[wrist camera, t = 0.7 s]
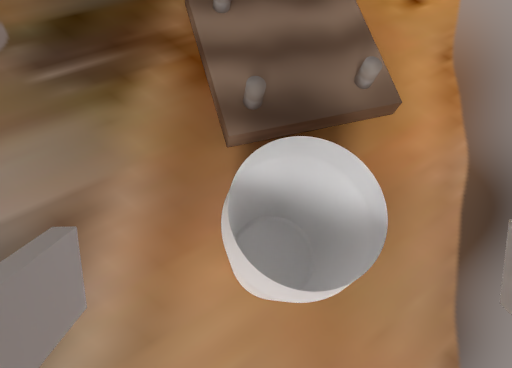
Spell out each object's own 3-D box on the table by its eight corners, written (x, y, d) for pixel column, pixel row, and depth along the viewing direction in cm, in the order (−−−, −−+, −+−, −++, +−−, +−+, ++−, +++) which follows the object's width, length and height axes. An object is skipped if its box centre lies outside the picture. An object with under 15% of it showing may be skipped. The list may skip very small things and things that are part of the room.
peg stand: (185, 3, 42) (183, -36, 38) (335, -16, 46) (349, -53, 42) (227, 147, 37) (231, 121, 33) (392, 113, 41) (415, 86, 36)
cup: (194, 232, 34) (194, 172, 23) (291, 185, 37) (333, 110, 26) (249, 339, 32) (279, 330, 21) (349, 281, 34) (423, 244, 23)
